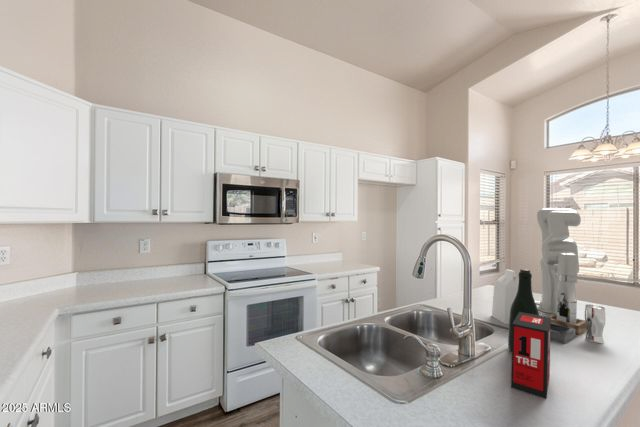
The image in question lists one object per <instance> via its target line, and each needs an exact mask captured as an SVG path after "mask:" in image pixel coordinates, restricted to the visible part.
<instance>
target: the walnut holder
mask: <svg viewBox="0 0 640 427" xmlns="http://www.w3.org/2000/svg"><path fill="white" fill-rule="evenodd" d="M547 317H551V323H555V324H559V325H563V326H567V327H570V328H574V329H575V336H577V337H578V336H581V335H582V334H584V333H587V328H586V323H585V319H581V318H577V317H576V324H572V323H568V322H564V321H560V320H557V314H550V315H549V316H547Z"/></svg>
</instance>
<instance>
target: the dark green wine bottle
mask: <svg viewBox="0 0 640 427" xmlns="http://www.w3.org/2000/svg"><path fill="white" fill-rule="evenodd" d="M532 278H533V276H532V273H531V270H530V269H525V268H521V269H519V272H518V279H519V283H518V291H517V294H516V297H515V299H514V301H513V303H512V305H511V308H510V315H509V324H508V336H507V338H508V339H507V344H508V345H507V346H508V347H507V348H508V351H509V352H510V353H512V324H513V322H514V320H515V318H516V317H517V315H518V313H519V312H524V313H529V314H535V315H540V312H539V311H540V310H539V309H538V305H536V303H535V301H536V300H535V299H534V294H533V289H532V288H533V286H532Z"/></svg>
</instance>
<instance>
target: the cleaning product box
mask: <svg viewBox="0 0 640 427" xmlns="http://www.w3.org/2000/svg"><path fill="white" fill-rule="evenodd" d="M550 326H551V317H548V316H545V315H540V314H539V315H535V314H529V313H524V312H519V313H518V315H517V317H516V318H515V320H514V322H513V324H512V352H511V367H510V368H511V370H510V371H511V373H510V374H511V375H510V377H511V378H510V388H511V389H514V390H516V391H520V392H523V393H526V394H528V395H532V396H536V397H538V398H541V399H544V400H546V399H548V398H547V397H548V391H549V384H550V382H549V381H550V375H551V374H550V371H551V370H550V367H551V366H550V365H551V340H550Z"/></svg>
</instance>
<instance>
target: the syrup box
mask: <svg viewBox="0 0 640 427" xmlns="http://www.w3.org/2000/svg"><path fill="white" fill-rule="evenodd" d="M564 302H566V301H564ZM564 304H565V303H564ZM559 305H560V303H559V301H557V320H560V321H564V322H568V323H572V324H576V318H577V308H578V307H577V300H576V299H575V300H571V301H570V303H568V306H567V309H568V317H563V316H560V315H559Z"/></svg>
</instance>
